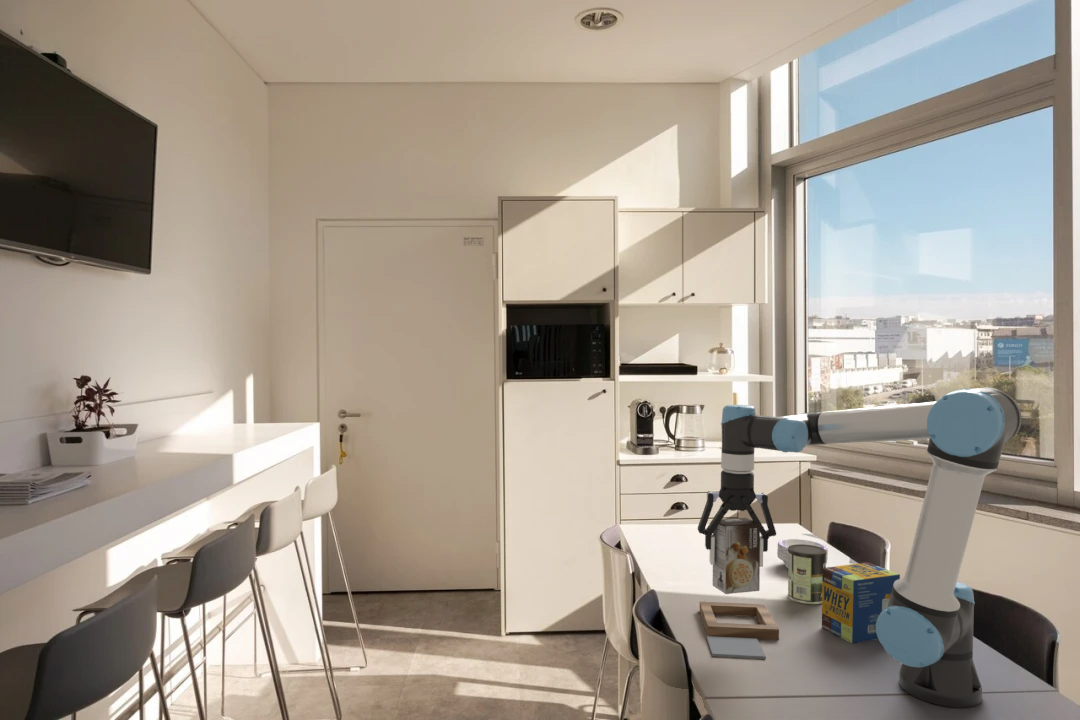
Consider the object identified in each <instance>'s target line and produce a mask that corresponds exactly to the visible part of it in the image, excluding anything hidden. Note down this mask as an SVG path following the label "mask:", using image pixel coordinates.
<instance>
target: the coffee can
mask: <svg viewBox="0 0 1080 720" xmlns="http://www.w3.org/2000/svg"><path fill="white" fill-rule="evenodd" d="M826 553H827V551H826V550H825V549H823V548H821V547H818V546H813V545H804V544H797V545H791V546H789V547H788V568H787V571H788V575H787V597H788V599H789V600H792V601H793V602H796V603H799V604H805V605H820V604H821V605H822V574H823V568H827V563H826Z"/></svg>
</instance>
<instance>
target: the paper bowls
mask: <svg viewBox="0 0 1080 720" xmlns="http://www.w3.org/2000/svg"><path fill="white" fill-rule="evenodd" d="M797 544H804V545H813V546H818V547H821V548H823V549H825V550H826V551H827V553H826V564H828V558H829V557H828V552H829V549H828V547H827V545H825V544H823V543H821V542H818V541H814V540H811V539H805V538H783V539H780V540H778V541H777V558H778V559H779V560H781V561H783V564H784V566H785V567H786V568H787V569H788V547H789V546H791V545H797Z"/></svg>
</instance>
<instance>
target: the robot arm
mask: <svg viewBox="0 0 1080 720" xmlns="http://www.w3.org/2000/svg"><path fill="white" fill-rule="evenodd" d="M720 425H721V456H720V457H721V459H720V460H721V461H720V462H721V463H720V467H721V469H722V471H721V472H720V489H719V490H718V491H717V492H716V491H715V492H713V491H710V490H708V491H707V493H706V502H705V505H704V508H703V511H702V514H701V517H700V520H699V523H698V526H697V531H698V533H699V534H702V535H705V536H704V543H705V544H704V545H705V549H706V550H709V563H710V565H712V566H713V565H714V551H715V537H714V535H713V532H714V531H715V529H716V528H717V526H718V524H719V523H718V522H720V521H721V520H722V519H724V517H725V515H727V513H729V511H731V512H735V511H740V512H745V511H746V512H747V513H748V515H749V516H750V518H751V520H753V521H754V523H760V567H764V552H765V553H767V552H768V550H769V547H768V546H769V539H770V537H775V536H777V531H776V528H775V525H774V521H773V518H772V515H771V512H770V508H769V506H768V505H769V504H768V503H769V502H768V501H769V496H768V495H767V494H766V493H765V492H762V493H756V492H755V487H754V485H755V474H754V472H753V471H755V449H763V450H771V451H777V452H782V453H800V452H802V451H803V450H804V448H806V446H819V445H831V444H833V445H834V444H836V445H837V444H853V443H854V444H855V443H870V442H872V443H873V442H891V441H892V442H893V441H894V442H895V441H910V440H929V441H928V444H927V445H928V446H927V449H926V454H927V455H928V456H929V458H930V459H931V461H932V466H931V470H930V474H929V478H928V482H927V486H926V490H925V494H924V498H923V503H922V505H921V510H920V514H919V518H918V522H917V526H916V530H915V532H914V538H913V541H912V545H911V549H910V553H909V558H908V561H907V565H906V569H905V572H904V576H903V577H900V579H898V580H896V581H895V582H894V584H893V588H892V592H891V596H890V599H889V603H888V607H887V608H885V609H884V610H883V611H882V612H881V613H880V615H879V617H878V619H877V622H876V633H877V637H878V639H877V640H878V641H879V643H880V644H881V646H882V647H883V649H884V651H885V652H886V653H887V654H888V655H889V656H890V657H891V658H892V659H894V660H896V661H897V662H899V663H900V664H901V666H900V668H899V672H898V683H899V685H900V688H902V690H904V691H905V692H906V693H908V694H910V695H912V697H914V698H917V699H920V700H922V701H925V702H927V703H931V704H935V705H937V706H942V707H950V708H971V707H975V706H977V705H979V704H980V703H982V700H983V687H982V684H981V680H980V678H979V674H978V671H977V668H976V665H975V662H974V658H973V657H974V656H973V654H974V653H973V652H974V651H973V650H974V619H975V618H974V616H975V614H974V612H975V611H974V610H975V608H974V607H975V605H976V603H975V597H974V591H973V589H972V588H971V587H970V586H969V585H967V584H965V583H962V582H960V581H958V579H959V575H960V571H961V568H962V563H963V559H964V555H965V552H966V548H967V545H968V542H969V537H970V533H971V529H972V526H973V522H974V518H975V516H976V515H975V514H976V511H977V507H978V504H979V500H980V497H981V492H982V489H983V485H984V482H985V478H986V476H987V475H989V474H992V473H993V472H996V471H997V470H998V467H999V463H1000V460H1001V457H1002V453H1003V450H1004V446H1005V444H1007V443H1009V442H1010V441H1011V440H1012V439H1014V437H1016V436H1017V434H1018V432H1019V431H1020V428H1021V425H1022V413H1021V409H1020V406H1019V405H1018V404H1017V402H1016V401H1015V400H1014V398H1012V396H1010V395H1009V394H1007V393H1006V392H1004V391H1002V390H1000V389H997V388H992V387H975V388H960V389H957V390H953V391H949V392H948V393H947V394H945V395H943V396H941V397H939V399H937V400H936V401H929V402H920V403H919V402H918V403H908V404H896V405H885V406H883V405H882V406H875V407H873V406H872V407H862V408H861V407H860V408H850V409H839V410H828V411H821V412H820V411H818V412H812V411H811V412H803V413H799V414H791V415H782V416H769V415H768V416H767V415H758V414H756V408H755V407H754V406H753V405H749V404H728V405H725V406H723V408H722V417H721V423H720ZM718 498H719V499H720V500H721V501H722V502H721V505H720V506H719V508H718V511H717V512H716V514H715V515H714V516H713V518H712V519H711V520H710V523H709V524H707V523H708V521H709V518H710V515H711V512H712V510H713V507H714V503H715V502H717V499H718ZM755 500H757V502H758V503H759V504H760V507H761V511H762V513H763V517H764V520H765V522H766V523H765V524H766V527H767V530H766V529H765V527H764V525H763V524H762V523H761V521H760V519H759V517H758V516H757V514H756V512H755V510H754V509H753V507H752V506H751V505H752V504H753V502H754V501H755ZM707 525H708V526H707Z"/></svg>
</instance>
